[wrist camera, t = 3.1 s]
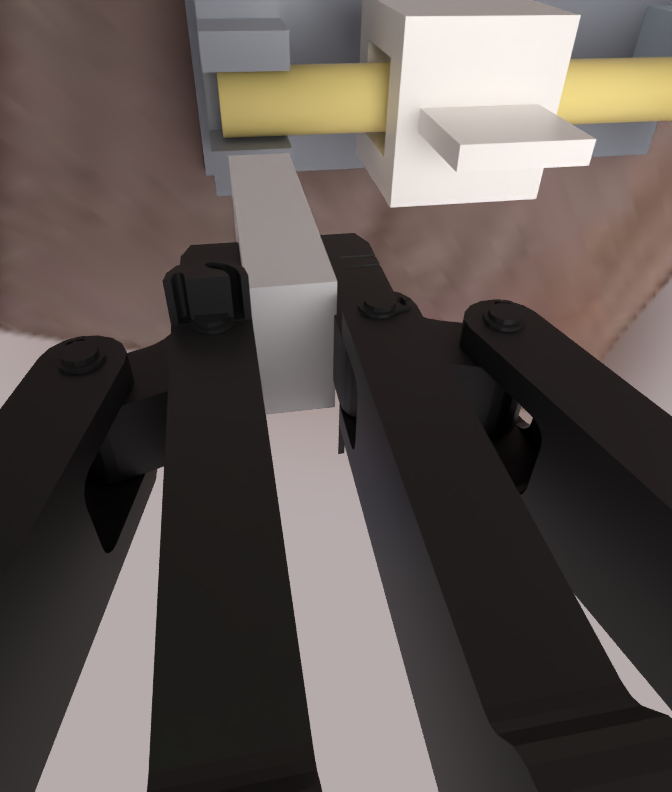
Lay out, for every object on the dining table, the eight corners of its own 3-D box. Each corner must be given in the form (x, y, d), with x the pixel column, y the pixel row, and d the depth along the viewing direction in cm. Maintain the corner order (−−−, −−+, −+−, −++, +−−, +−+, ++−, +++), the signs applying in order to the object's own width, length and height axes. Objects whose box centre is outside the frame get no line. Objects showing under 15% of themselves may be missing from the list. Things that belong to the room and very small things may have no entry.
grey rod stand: (205, 169, 32) (212, 273, 23) (173, -94, 25) (164, -87, 16) (637, 148, 36) (781, 231, 27) (715, -83, 29) (945, -72, 20)
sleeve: (356, 153, 27) (421, 255, 20) (362, -8, 23) (447, 39, 16) (478, 148, 28) (586, 243, 20) (505, -9, 24) (652, 36, 16)
